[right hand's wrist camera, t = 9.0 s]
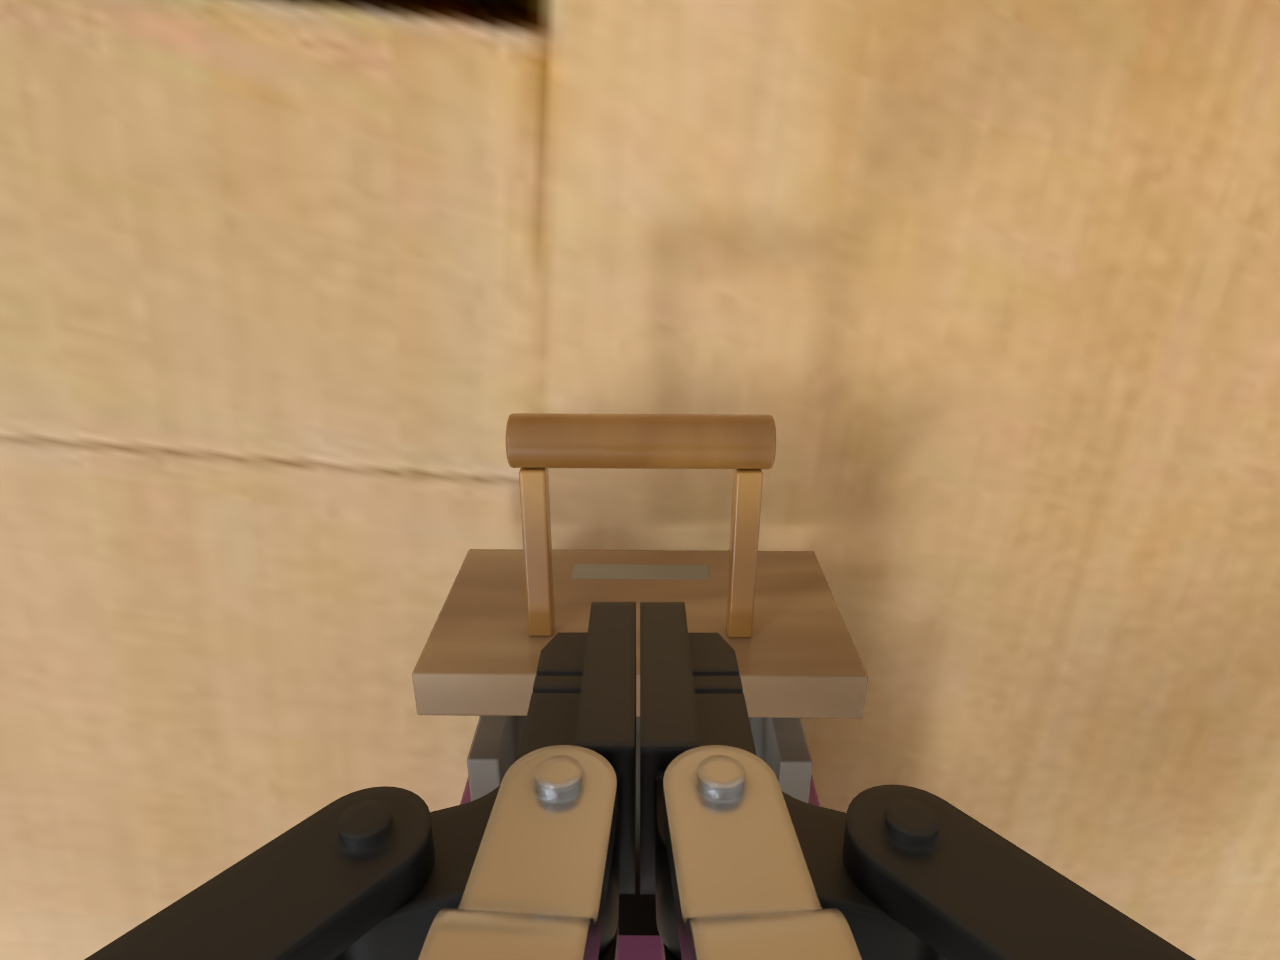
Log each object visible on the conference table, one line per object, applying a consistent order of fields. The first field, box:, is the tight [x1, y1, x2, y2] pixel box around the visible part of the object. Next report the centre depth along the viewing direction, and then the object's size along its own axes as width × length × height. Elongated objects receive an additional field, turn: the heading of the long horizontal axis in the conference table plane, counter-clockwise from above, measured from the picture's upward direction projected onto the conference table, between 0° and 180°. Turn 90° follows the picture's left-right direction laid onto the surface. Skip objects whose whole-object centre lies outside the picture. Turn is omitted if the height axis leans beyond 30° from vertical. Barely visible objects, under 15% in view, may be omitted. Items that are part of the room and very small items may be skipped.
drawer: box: [412, 414, 868, 935], centre depth 23 cm, size 25×10×6 cm, turn 0°
